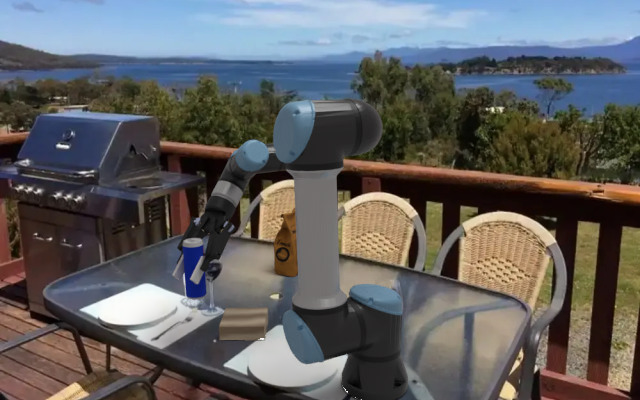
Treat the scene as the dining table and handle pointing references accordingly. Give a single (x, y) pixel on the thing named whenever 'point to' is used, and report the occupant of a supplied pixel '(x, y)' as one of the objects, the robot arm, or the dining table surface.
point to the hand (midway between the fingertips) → (185, 279)
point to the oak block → (243, 324)
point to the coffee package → (286, 247)
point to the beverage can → (193, 268)
